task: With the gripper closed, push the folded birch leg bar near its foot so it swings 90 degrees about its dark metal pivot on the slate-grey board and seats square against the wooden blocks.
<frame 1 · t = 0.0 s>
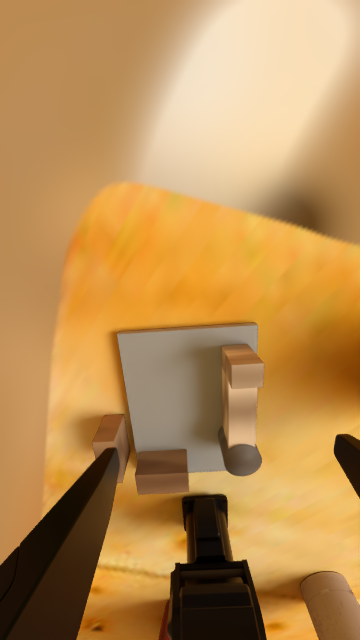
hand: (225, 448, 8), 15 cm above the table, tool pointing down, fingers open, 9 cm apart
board: (191, 403, 25), on the table
thermos bottle: (322, 583, 35), on the table
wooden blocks: (162, 431, 26), on the table
leg: (239, 413, 21), point 3 cm above the table, hinge at 0.0°
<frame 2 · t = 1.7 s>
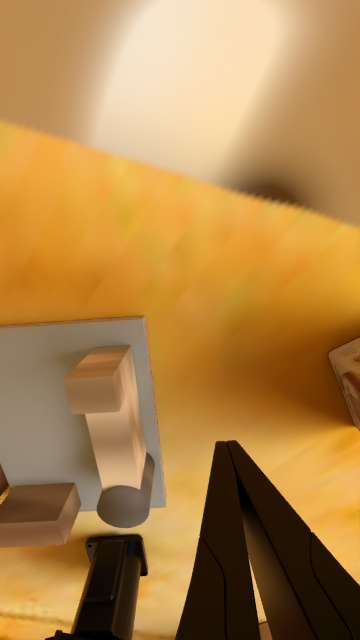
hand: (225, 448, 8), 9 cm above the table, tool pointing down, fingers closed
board: (77, 423, 19), on the table
thermos bottle: (275, 632, 29), on the table
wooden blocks: (46, 458, 20), on the table
leg: (118, 442, 15), point 3 cm above the table, hinge at 0.0°
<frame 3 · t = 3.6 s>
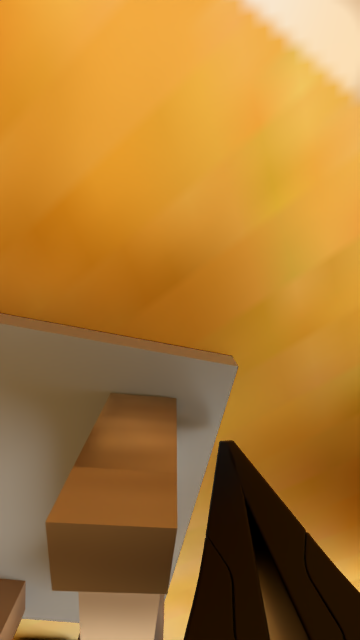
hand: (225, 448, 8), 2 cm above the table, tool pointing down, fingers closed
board: (57, 491, 11), on the table
leg: (125, 575, 8), point 3 cm above the table, hinge at 5.5°, touching gripper
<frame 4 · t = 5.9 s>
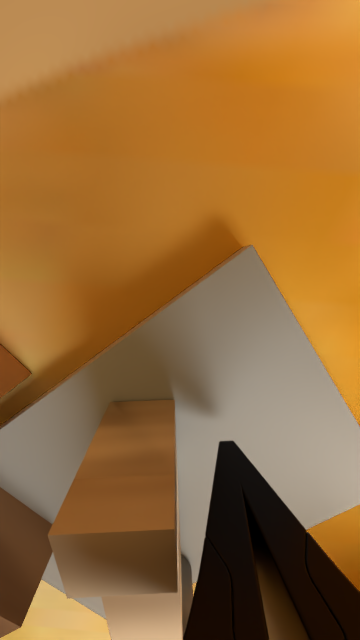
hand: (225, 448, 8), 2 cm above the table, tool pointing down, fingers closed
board: (161, 472, 11), on the table
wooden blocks: (57, 463, 11), on the table
leg: (147, 575, 8), point 3 cm above the table, hinge at 55.3°, touching gripper
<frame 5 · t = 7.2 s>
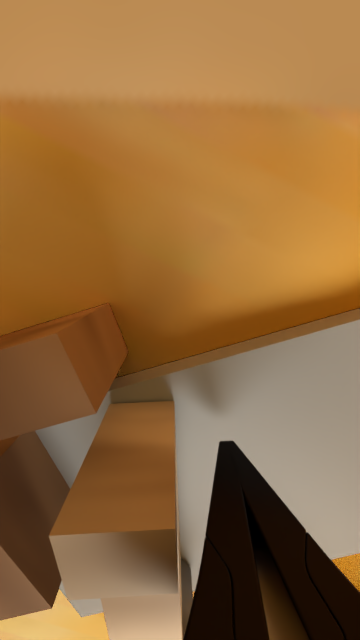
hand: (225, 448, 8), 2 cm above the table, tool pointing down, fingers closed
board: (198, 479, 11), on the table
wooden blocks: (105, 444, 11), on the table
leg: (147, 579, 8), point 3 cm above the table, hinge at 74.9°, touching gripper
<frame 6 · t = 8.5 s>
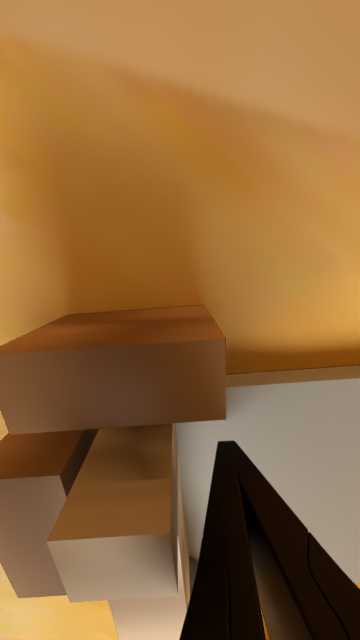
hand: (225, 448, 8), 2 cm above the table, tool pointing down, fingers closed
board: (228, 488, 12), on the table
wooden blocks: (152, 438, 11), on the table
leg: (153, 577, 9), point 3 cm above the table, hinge at 90.2°, touching gripper
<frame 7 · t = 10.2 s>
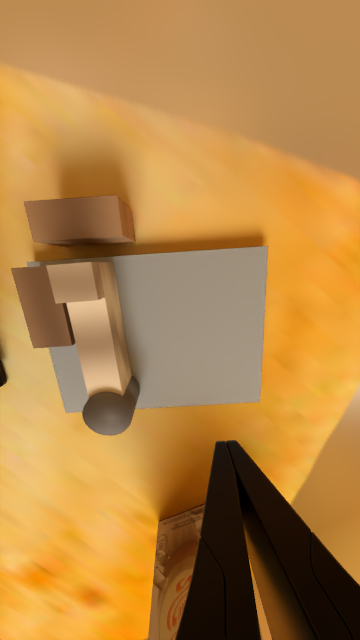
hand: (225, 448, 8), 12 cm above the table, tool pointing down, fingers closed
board: (156, 335, 19), on the table
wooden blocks: (109, 297, 18), on the table
leg: (102, 352, 16), point 3 cm above the table, hinge at 90.9°
coffee box: (197, 521, 27), on the table
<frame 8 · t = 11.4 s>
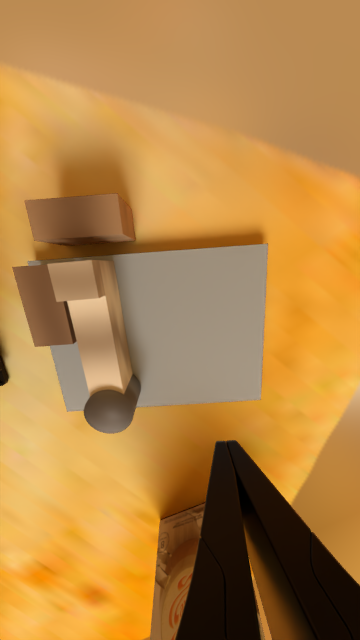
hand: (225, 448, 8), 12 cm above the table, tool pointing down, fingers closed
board: (156, 333, 20), on the table
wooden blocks: (109, 296, 19), on the table
leg: (103, 350, 16), point 3 cm above the table, hinge at 90.9°
coffee box: (199, 520, 27), on the table
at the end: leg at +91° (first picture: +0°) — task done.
